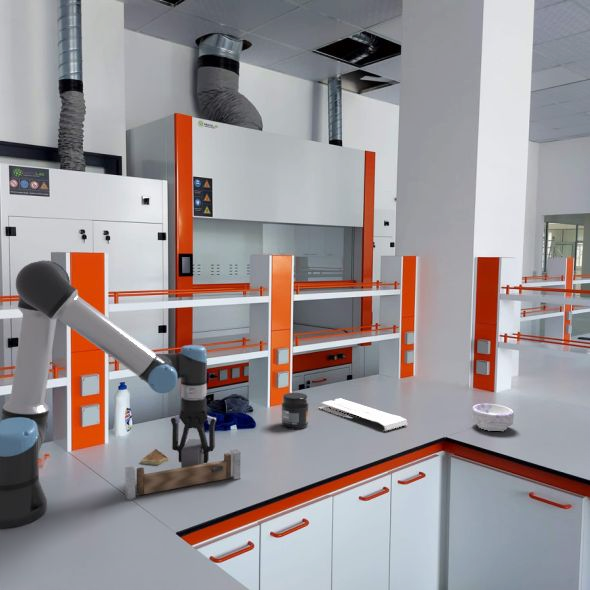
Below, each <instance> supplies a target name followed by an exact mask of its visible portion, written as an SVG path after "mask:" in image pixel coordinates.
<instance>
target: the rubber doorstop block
mask: <svg viewBox="0 0 590 590" xmlns="http://www.w3.org/2000/svg"><path fill="white" fill-rule="evenodd" d="M202 451H203V448H202V444H201V440H200V438H199V439H197V438H188V440H186V443H185V446H184V447H183V449H182V450H181V462H180V468H183V467H189V466H194V465H200V464H201V453H202Z"/></svg>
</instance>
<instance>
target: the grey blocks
mask: <svg viewBox="0 0 590 590" xmlns="http://www.w3.org/2000/svg"><path fill="white" fill-rule="evenodd" d="M229 453H230V454H231V478H232V479H233V480H235V481H236V480H239V478H240V479H241V451H239V450H238V449H237V448H234V449H230V452H229ZM124 469H125V471H124V473H125V475H124V479H125V482H124V484H125V486H124V487H125V493H124V494H125V498H126V500H127V501H130V500H136V470H135V467H134V466H133V465H132V466H126V467H124Z"/></svg>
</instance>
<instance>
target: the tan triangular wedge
mask: <svg viewBox="0 0 590 590" xmlns="http://www.w3.org/2000/svg"><path fill="white" fill-rule="evenodd" d="M140 461H141V465H143V464H144V465H152V466H158V465H161V464H163V463H166V462H168V461H169V458H168V457H167V456H166V455H165V454H163V452H161V451H159V450H158V449H157V448H155V449H153V450H152V451H151V452H149V453H148V454H147V455H146V456H144V457H143V458H142V459H141V460H140Z"/></svg>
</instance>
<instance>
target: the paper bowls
mask: <svg viewBox="0 0 590 590" xmlns="http://www.w3.org/2000/svg"><path fill="white" fill-rule="evenodd" d="M471 408H472V409H471V420H472V422H474V423H476V425H477V427H478V428H479V429H480V428H481V430H482V429H484V430H483V431H485V430H489V431H502V432H504V430H505V431H506V430H507V429H508V427H511V426H512V425H513V424H514V416H515V415H514V411H513V409H511V408H510V407H507V406H505V405H501V404H494V403H478V404H477V403H476V404H475V405H473V406H472V407H471ZM489 431H488V432H489Z"/></svg>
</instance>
